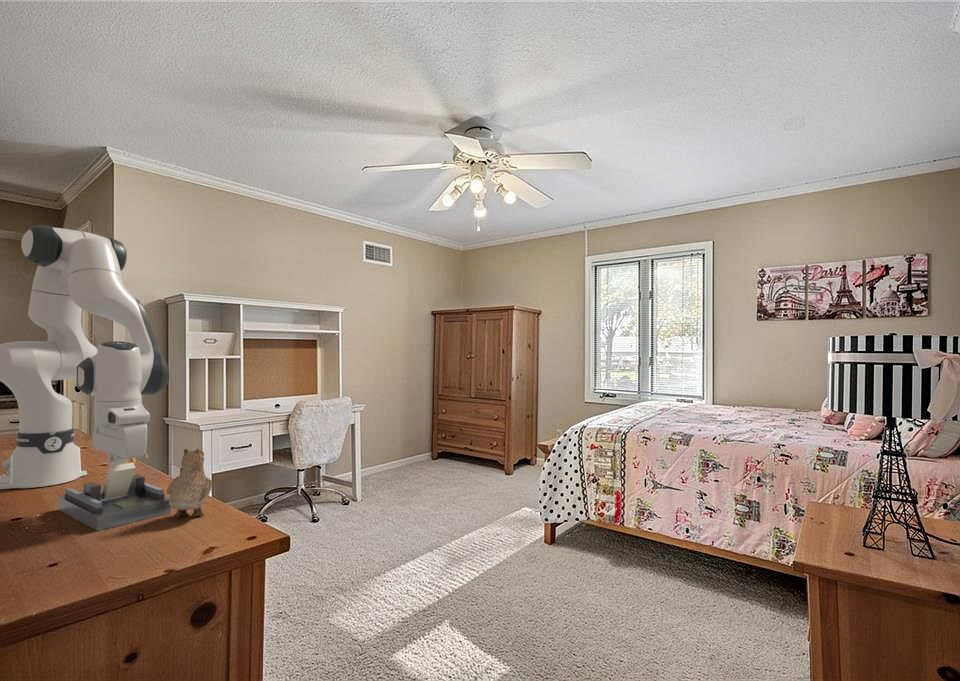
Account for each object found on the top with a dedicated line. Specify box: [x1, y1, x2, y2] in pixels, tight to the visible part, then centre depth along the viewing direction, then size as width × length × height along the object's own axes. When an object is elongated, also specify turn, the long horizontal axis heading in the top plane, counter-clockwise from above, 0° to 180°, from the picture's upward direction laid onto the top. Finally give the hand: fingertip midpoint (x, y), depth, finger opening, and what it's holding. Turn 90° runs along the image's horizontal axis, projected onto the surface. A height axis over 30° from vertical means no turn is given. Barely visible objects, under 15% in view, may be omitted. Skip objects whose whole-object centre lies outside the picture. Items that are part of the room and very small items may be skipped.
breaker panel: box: [57, 473, 172, 532], centre depth 112 cm, size 23×14×7 cm, turn 56°
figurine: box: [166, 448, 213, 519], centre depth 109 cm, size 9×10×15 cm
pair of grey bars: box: [64, 482, 165, 513], centre depth 112 cm, size 19×13×2 cm
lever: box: [101, 462, 137, 499], centre depth 111 cm, size 2×5×9 cm
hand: (117, 473), depth 112 cm, fingers closed
